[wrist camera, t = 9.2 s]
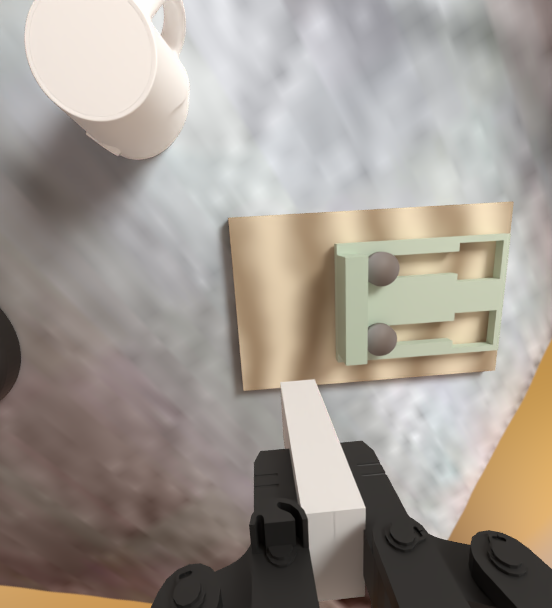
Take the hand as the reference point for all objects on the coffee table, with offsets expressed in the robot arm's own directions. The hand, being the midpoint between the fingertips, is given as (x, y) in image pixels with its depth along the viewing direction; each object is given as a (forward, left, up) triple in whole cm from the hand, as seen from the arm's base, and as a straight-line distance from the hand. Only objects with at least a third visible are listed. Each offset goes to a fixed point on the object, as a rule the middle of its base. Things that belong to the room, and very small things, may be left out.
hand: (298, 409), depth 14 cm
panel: (+15, 0, -19) cm, 24 cm away
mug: (-10, +20, -21) cm, 30 cm away
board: (+10, 0, -20) cm, 23 cm away
